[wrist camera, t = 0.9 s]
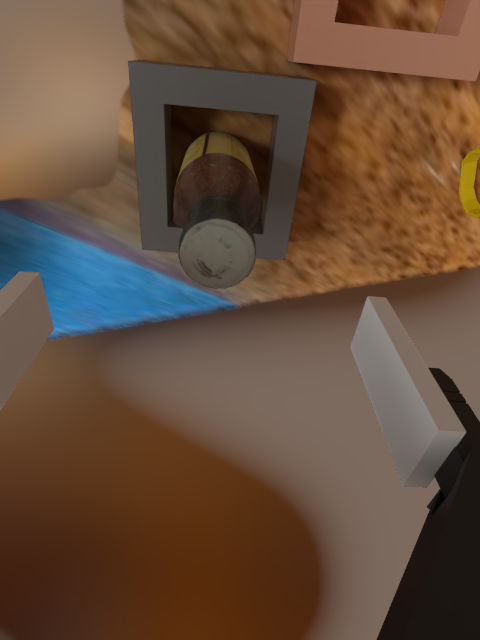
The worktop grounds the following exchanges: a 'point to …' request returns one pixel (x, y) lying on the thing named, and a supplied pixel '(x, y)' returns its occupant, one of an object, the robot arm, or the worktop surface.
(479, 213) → the watch
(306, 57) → the holder
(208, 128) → the worktop surface
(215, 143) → the sauce bottle
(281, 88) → the holder
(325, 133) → the worktop surface
